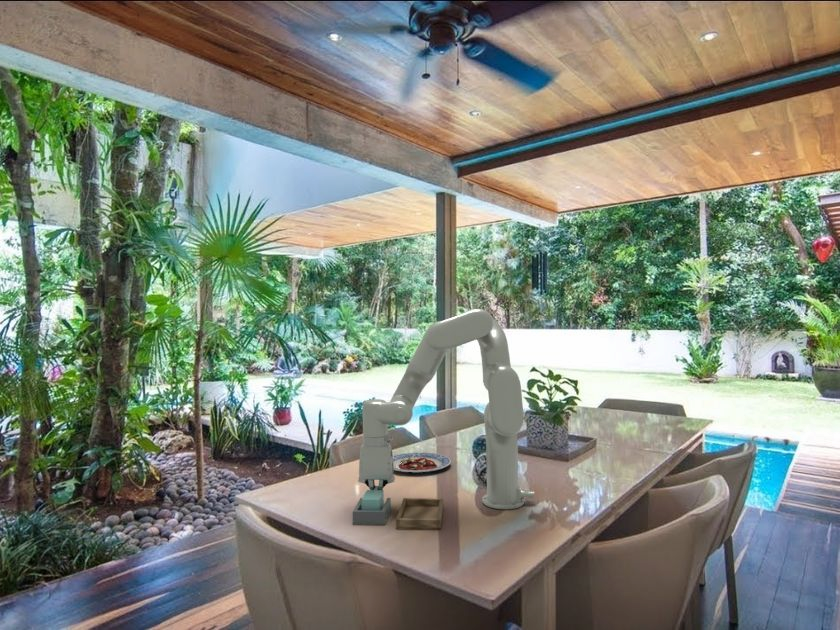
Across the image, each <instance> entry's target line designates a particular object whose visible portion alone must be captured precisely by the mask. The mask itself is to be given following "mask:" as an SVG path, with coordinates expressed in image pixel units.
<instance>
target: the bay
mask: <svg viewBox="0 0 840 630" xmlns="http://www.w3.org/2000/svg"><path fill="white" fill-rule="evenodd" d="M362 498H363V497H360V499H359V500H358V502H357V504H356V505H355V507H354V508H353V510H352V525H373V526H374V525H380V526H382V525H383V526H384V525H386V523H387V520H388V518H389V516H390V513H391V510H392V503H391V501H392V500H391V499H392V498H391V497H387V498H386V500H385V501H384V506H383V509H382V511H377V510H362V501H361V499H362Z"/></svg>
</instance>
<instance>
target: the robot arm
mask: <svg viewBox="0 0 840 630" xmlns="http://www.w3.org/2000/svg"><path fill="white" fill-rule="evenodd" d="M473 341H477V342H478V346H479V348H480V356H481V366H482V368H481V369H482V383H483V386H484V388H485V389H486V390H487V393H488V402H487V404H486V405H485V408H484V412H483V420H484V421H483V422H484V431H485V432H484V433H485V448H486V449H485V454H486V455H485V456H486V457H485V458H486V459H485V460H486V494H484V495H483V496H482V499H481V501H482V503H483V505H485V506H487V507H489V508H490V509H491V508H492V509H496V510H513V509H517V508H521V507H522V506H524V504H525V498H529V499H534V498H535V497H536V496H535V491H534V490H530V489H529V488H528V489H522V488H521V487H520V484H519V454H518V453H519V452H518V451H519V447H518V446H519V445H518V433H519V432H520V431H521V429H522V427H523V425H524V406H523V405H524V404H523V396H522V385H521V380H520V377H519V374H518V373H517V372H516V371H515V369H514V368H512V366H511V357H510V351H509V344H508V340H507V336H506V333H505V330H504V329H503V327H502V326H501V325H500V324H499V322H497V320H496V319H495V318H493V317H492V315H491V314H490V313H489V312H488V311H487V310H485V309H482V308H471V309H469V310H466V311H465V312H464V313H461V314H458V315H456V316H453V317H452V316H451V317H450V318H447V319H444V320H440V321H434V322H432V323H430V325H429V326H428V327H427V329H426V331H425V332H424V334H423V337H422V339H421V340H420V343H418V345H417V347H416V350H415V352H414V354H413V356H412V358H411V359H410V361H409V363H408V365H407V367H406V370H405V372H404V374H403V375H402V378H401V380H400V381H399V384H398V385H397V387H396V389H395V391H394V393H393V395H392V397H391V399H390V400H389V401H386V400H385V399H380V398H379V399H378V398H377V399H376V398H375V399H367V400H365V401H363V403H362V407H361V408H362V410H361V411H362V444H361V446H360V452H359V461H358V480H357V482H359V483H362V484H365V485H366V486H367V487H368V490H374V488H375V487H376V486H378V490H384V487H386V486H387V485H388V484H391V483H395V480H396V479H395V475H394V474H395V473H394V472H395V470H394V465H393V456H394V455H393V449H392V444H390V443H391V442H392V443H393V439H394V437H393V436H390V435H389V430H388V429H389V428H388V427H389V425H391V426H405V425H407V424H409V422H410V421H411V420H412V418H413V409H414V407H415V405H416V403H417V401H418V400H419V397H420V396H421V393H422V391H423V390H424V389H425V387H427V385H428V384H429V383H430V382H431V381H432V380H433V379H434V377H435V375H436V373H437V371H438V370H439V367H440V366H441V364H442V361H443V360H444V358H445V355H446V354H447V352H448V351H449V350H451V349H454V348H457V347H460V346H462V345H464V344H465V345H466V344H468V343H472V342H473ZM375 480H377V481H378V485H376V483H375Z"/></svg>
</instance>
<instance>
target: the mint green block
mask: <svg viewBox="0 0 840 630" xmlns="http://www.w3.org/2000/svg"><path fill="white" fill-rule="evenodd" d="M375 486H376V487H375V488H374V490H370V489H367V490H366V491H365V493H364V495H362V497H361V498H362V499H361V501H362V510H377V511H382V509H383V506H384V504H385V500H384V498H385V497H384V496H385V495H384V489H383V490H378V486H379V485H375Z"/></svg>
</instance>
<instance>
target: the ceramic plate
mask: <svg viewBox="0 0 840 630" xmlns="http://www.w3.org/2000/svg"><path fill="white" fill-rule="evenodd" d="M399 462H400V463H401V462H402V463H401V464H399V465H398V466H399V468H400V469H398V468H396V464H397V463H399ZM451 463H452V460H451V458H449V456H446V455H443V454H439V453H433V452H409V453H407V452H406V453H400V454H396V455H393V465H394V471H396V472H401V473H407V472H412V473H411V474H424V473H423V472H425V473H429V472H433V471H439V470H442V469H444V468H447V467H448V466H449V465H451Z"/></svg>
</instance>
